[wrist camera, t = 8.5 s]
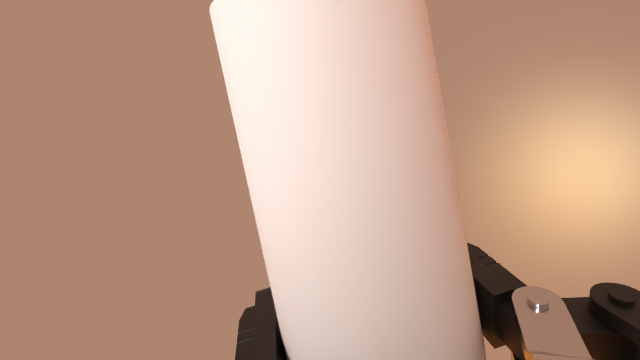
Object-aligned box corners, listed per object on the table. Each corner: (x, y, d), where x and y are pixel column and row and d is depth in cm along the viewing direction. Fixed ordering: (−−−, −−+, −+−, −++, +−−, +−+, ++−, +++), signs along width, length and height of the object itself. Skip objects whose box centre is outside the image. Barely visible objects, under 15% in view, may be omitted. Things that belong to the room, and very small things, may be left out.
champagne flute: (387, 421, 20) (303, 25, 11) (505, 500, 15) (508, -53, 7) (326, 547, 15) (110, 39, 7) (469, 710, 11) (351, -158, 2)
